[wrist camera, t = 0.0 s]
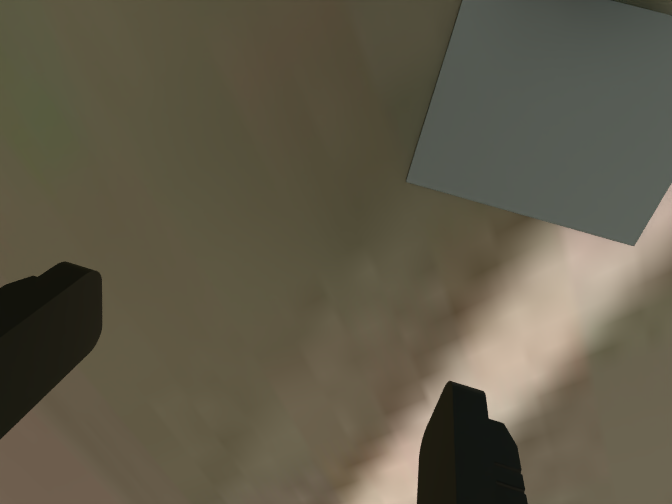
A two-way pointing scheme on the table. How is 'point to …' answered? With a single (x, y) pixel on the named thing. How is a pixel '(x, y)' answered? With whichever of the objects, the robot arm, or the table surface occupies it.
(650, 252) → the table surface
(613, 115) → the mat
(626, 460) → the table surface
